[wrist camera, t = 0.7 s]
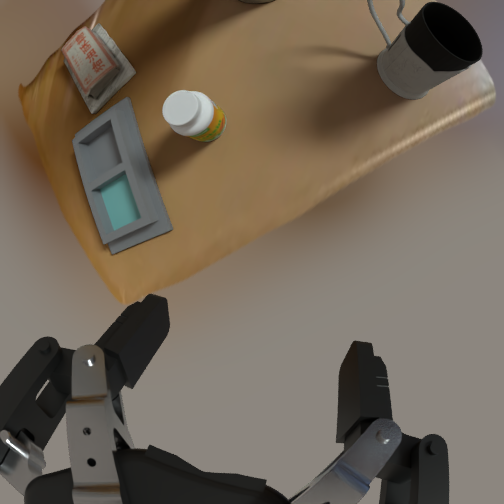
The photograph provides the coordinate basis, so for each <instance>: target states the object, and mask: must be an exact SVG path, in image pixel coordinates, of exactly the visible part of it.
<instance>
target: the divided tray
mask: <svg viewBox="0 0 504 504" xmlns="http://www.w3.org/2000/svg"><path fill="white" fill-rule="evenodd" d="M72 142H73V147H74V151H75V155H76V159H77V163H78V167H79V171H80V175H81V178H82V182H83V185H84V189H85V192H86V195H87V198H88V201H89V205H90V208H91V211H92V214H93V217H94V219H95V222H96V225H97V228H98V231H99V233H100V236H101V239H102V241H103V244H106V243H108V245H109V248H110V251H111V253H112V254H115V253H117V252H119V251H122V250H124V249H126V248H129V247H131V246H133V245H136V244H138V243H141V242H143V241H146V240H148V239H150V238H153V237H155V236H158V235H160V234H163V233H165V232H168V231H170V230H173V227H172V224H171V222H170V219H169V216H168V214H167V211H166V208H165V206H164V203H163V200H162V197H161V195H160V192H159V189H158V186H157V183H156V180H155V177H154V175H153V172H152V169H151V166H150V163H149V160H148V157H147V154H146V150H145V147H144V144H143V141H142V138H141V135H140V131H139V128H138V125H137V121H136V118H135V114H134V111H133V107H132V104H131V100H130V98H129V97H126V98H124V99H123V100H121V101H120V102H118V103H117V104H115V105H114V106H112V107H111V108H109V109H108V110H107V111H105V112H104V113H102V114H101V115H100V116H98V117H97V118H96V119H94V120H93V121H92V122H90V123H89V124H88V125H86V126H85V127H84V128H82V129H81V130H80V131H79V132H77V133H76V134H75V138H74V139H73V140H72Z"/></svg>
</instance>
